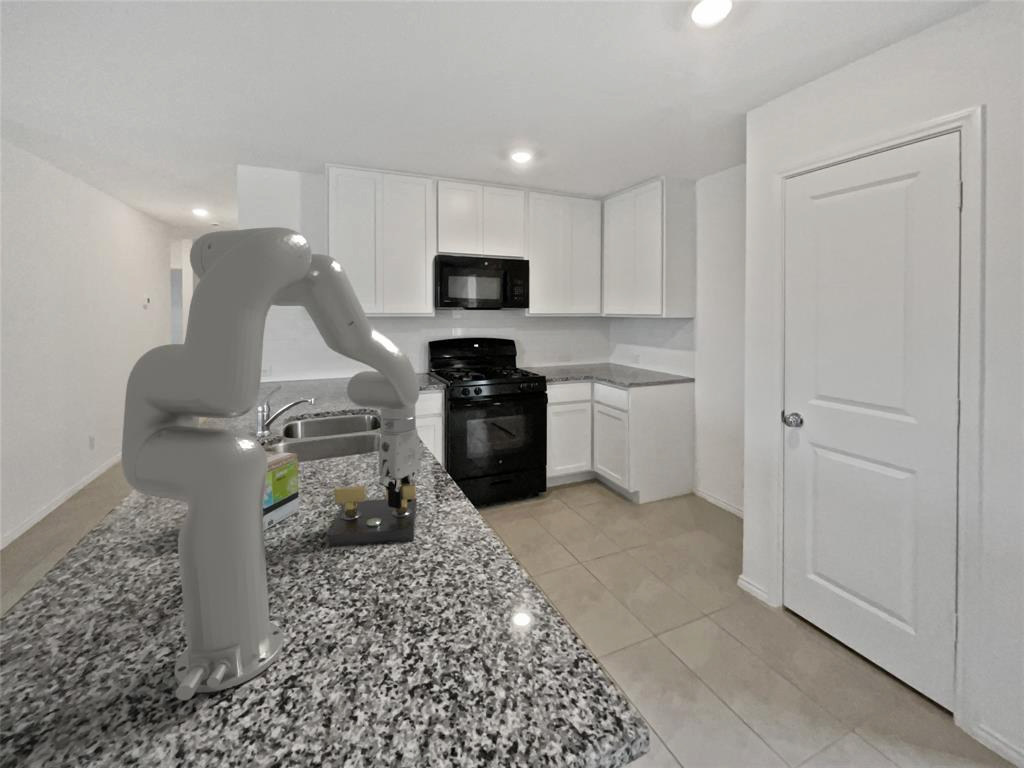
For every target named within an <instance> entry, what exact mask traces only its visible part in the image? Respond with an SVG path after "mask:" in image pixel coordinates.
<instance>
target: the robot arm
mask: <svg viewBox="0 0 1024 768" xmlns="http://www.w3.org/2000/svg"><path fill="white" fill-rule="evenodd" d="M311 248H312V247H311V245H310V244H309V242H308V240H307V238H305V236H303V235H302V234H301V233H300V232H298V231H296V230H294V229H290V228H289V227H288V228H287V227H281V226H278V227H275V226H274V227H273V226H271V227H256V228H244V229H235V230H233V229H232V230H220V231H213V232H212V231H211V232H208V233H205V234H203V235H201V236H200V237H199V238H196V240H195V241H194V242H193V244H192V246H191V248H190V252H189V263H190V266H191V268H192V271H193V273H194V274H195V276H196V277H197V278H198V279H199V281H198V283H197V285H196V286H195V289H194V291H193V293H192V296H191V299H190V305H189V311H188V319H187V322H186V323H187V324H186V331H185V332H186V333H185V338H184V342H183V343H182V344H181V343H180V344H179V343H175V344H173V343H171V344H164V345H159V346H156V347H154V348H152V349H149V350H148V351H147V352H145V353H144V354H142V356H140V357H139V359H138V360H137V361H136V362H135V364H134V365H133V368H131V369H132V370H131V371H130V373H129V376H128V379H127V381H126V382H127V383H126V389H125V390H126V391H125V399H124V413H123V426H122V442H121V465H122V466H121V468H122V472H123V475H124V478H125V480H126V482H127V483H128V484H129V486H131V488H132V489H134V490H135V491H137V492H139V493H140V494H143V495H145V496H150V497H155V498H162V499H168V500H172V501H173V500H174V501H179V502H183V503H186V504H187V511H186V515H185V518H184V520H183V522H182V524H181V527H180V529H179V533H178V538H177V552H178V555H177V556H178V562H179V572H180V573H179V575H180V584H181V585H180V586H181V594H182V605H183V615H184V623H185V624H184V625H185V636H186V638H185V639H186V647H187V648H186V649H185V650H184V651H183V652H182V653H181V655H180V656H178V658H177V661H176V662H175V665H174V671H173V672H174V680H175V682H176V684H177V688H176V689H175V697H176V698H177V699H178V700H179V701H188V700H190V699H191V698H192V697H193V696H194V694H195V693H197V694H198V693H200V694H201V693H202V692H203V693H213V692H219V691H224V690H227V688H228V689H231V688H234V687H236V686H238V685H241V684H244V683H245V682H247V681H249V680H251V679H253V678H255V677H256V676H258V675H260V674H261V673H263V672H264V671H266V669H267V668H269V667H270V666H271V665H272V664H273V663H274V662H275V661H276V659H278V657H279V656H280V655H281V652H282V650H283V647H284V643H285V642H284V640H285V639H284V633H283V630H282V629H281V628H280V627H279V626H278V625H276V624H274V623H273V622H270V608H269V606H270V605H269V592H268V591H269V590H268V577H267V576H268V575H267V564H266V563H267V562H266V561H267V560H266V547H265V535H264V531H265V530H264V531H263V498H264V490H265V484H266V478H267V471H268V460H267V455H266V452H265V451H266V450H265V448H264V447H263V445H262V444H261V443H260V442H259V441H258V440H257V439H255V438H254V437H252V436H251V435H248V434H246V433H244V432H240V431H237V430H233V429H225V428H216V427H215V428H214V427H213V428H212V427H202V426H200V427H199V423H200V418H206V419H207V418H210V419H234V418H239V417H242V416H245V415H246V414H248V413H250V412H251V411H252V410H253V408H254V407H256V404H257V402H258V399H259V395H260V389H261V379H262V365H263V364H262V363H263V349H264V337H265V336H264V335H265V328H266V327H265V326H266V320H267V316H268V313H269V311H270V308H271V307H272V306H275V307H277V306H278V307H279V306H280V307H303V308H304V309H305V310H306V312H307V314H308V316H310V319H311V320H312V322H313V324H314V325H315V327H316V329H317V331H318V332H319V335H320V336H321V338H322V339H323V341H324V343H325V345H326V346H327V347H328V348H329V349H330V350H332V351H334V352H335V353H338V354H340V355H342V356H344V357H345V358H348V359H351V360H353V361H356V362H359V363H362V364H364V365H367V366H368V367H370V368H372V369H374V370H376V371H373V370H370V371H369V370H365V371H360V372H358V373H356V374H354V375H353V376H352V377H351V378H350V379H349V381H348V383H347V386H346V393H347V396H348V400H350V401H351V402H352V403H353V404H354V405H356V406H358V407H361V408H368V409H380V432H381V433H380V438H379V447H378V448H379V449H378V471H379V479H378V484H379V485H380V486H383V487H384V488H385V491H386V490H388V506H389V507H393V508H398V509H399V508H401V507H402V500H401V491H400V490H399V487H400V484H414V483H413V482H414V475H416V474H415V473H416V472H417V471H418V470H419V469H420V468H421V465H422V464H421V463H422V462H421V446H420V439H419V438H420V437H419V433H418V429H417V426H416V424H417V423H416V404H417V402H418V400H419V398H420V384H419V380H418V377H417V374H416V372H415V369H414V367H413V365H412V364H413V363H412V362H411V360H410V358H409V356H407V354H406V353H405V351H404V350H402V348H401V347H400V346H399V345H398V344H396V343H395V342H394V341H392V340H391V339H390V338H389V337H387V336H386V335H385V334H383V333H382V332H381V331H379V330H378V329H376V328H375V327H373V326H372V324H371V323H370V322H369V319H368V317H367V314H366V312H365V310H364V309H363V306H362V305H361V303H360V301H359V298H358V296H357V294H356V292H355V290H354V288H353V286H352V284H351V282H350V279H349V277H348V275H347V273H346V271H345V269H344V267H343V266H342V265H341V263H340V262H339V261H338V260H337V259H335V257H332V256H329V255H326V254H321V253H319V254H318V253H312V249H311ZM411 501H412V499H407V502H411ZM233 686H234V687H233Z"/></svg>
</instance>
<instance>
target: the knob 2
mask: <svg viewBox="0 0 1024 768" xmlns="http://www.w3.org/2000/svg"><path fill="white" fill-rule="evenodd" d="M399 490H400V491H401V500H402V507H401V508H399V509H398V508H396V512H397V513H405V512H407V499H415V498H416V497H417V485H416V483H412V484H400V487H399ZM385 499H386V500H388V490H386V489H385Z"/></svg>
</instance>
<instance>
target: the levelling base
mask: <svg viewBox="0 0 1024 768" xmlns="http://www.w3.org/2000/svg"><path fill="white" fill-rule="evenodd" d="M417 499H418V498H417V496H416V498H415V499H412V501H411V502H407V512H405V513H397V512H396V508H393V507H389V506H388V500H386V498H384V499H366V500H365V502H357V514H356V515H354V516H346V515H345V503H342V506H341V508H340V510H339V512H338V514H337V516H336V519H335V521H334V522H333V525H332V527H331V529H330V531H329V533H328V534H327V535H328V536H327V537H328V539H327V540H328V541H327V542H328V547H341V546H357V545H370V544H384V543H385V544H386V543H397V542H398V543H400V542H412V541H415V531H416V530H415V529H416V519H417V518H416V517H417V509H418V506H417V502H418V501H417Z"/></svg>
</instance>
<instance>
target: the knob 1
mask: <svg viewBox="0 0 1024 768" xmlns="http://www.w3.org/2000/svg"><path fill="white" fill-rule="evenodd" d="M366 490H367V487H366V485H358V486H357V485H356V486H355V485H354V486H335V488H334V489H333V493H334V494H333V497H334V499H333V500H334V504H344V503H345V515H346V516H354V515H356V514H357V502H365V500H367V491H366Z"/></svg>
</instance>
